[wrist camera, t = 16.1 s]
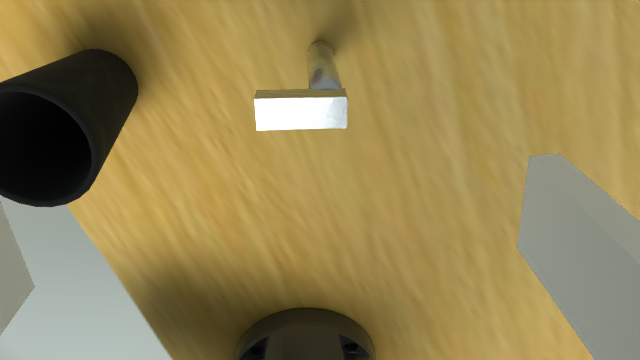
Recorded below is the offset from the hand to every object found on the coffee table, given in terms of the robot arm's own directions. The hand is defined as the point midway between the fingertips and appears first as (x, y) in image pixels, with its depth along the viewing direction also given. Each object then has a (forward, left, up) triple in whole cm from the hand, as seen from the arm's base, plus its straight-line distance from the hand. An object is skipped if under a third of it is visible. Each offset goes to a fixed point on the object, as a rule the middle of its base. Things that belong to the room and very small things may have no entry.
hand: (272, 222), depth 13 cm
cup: (-5, +15, -28) cm, 32 cm away
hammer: (-3, -1, -28) cm, 28 cm away
